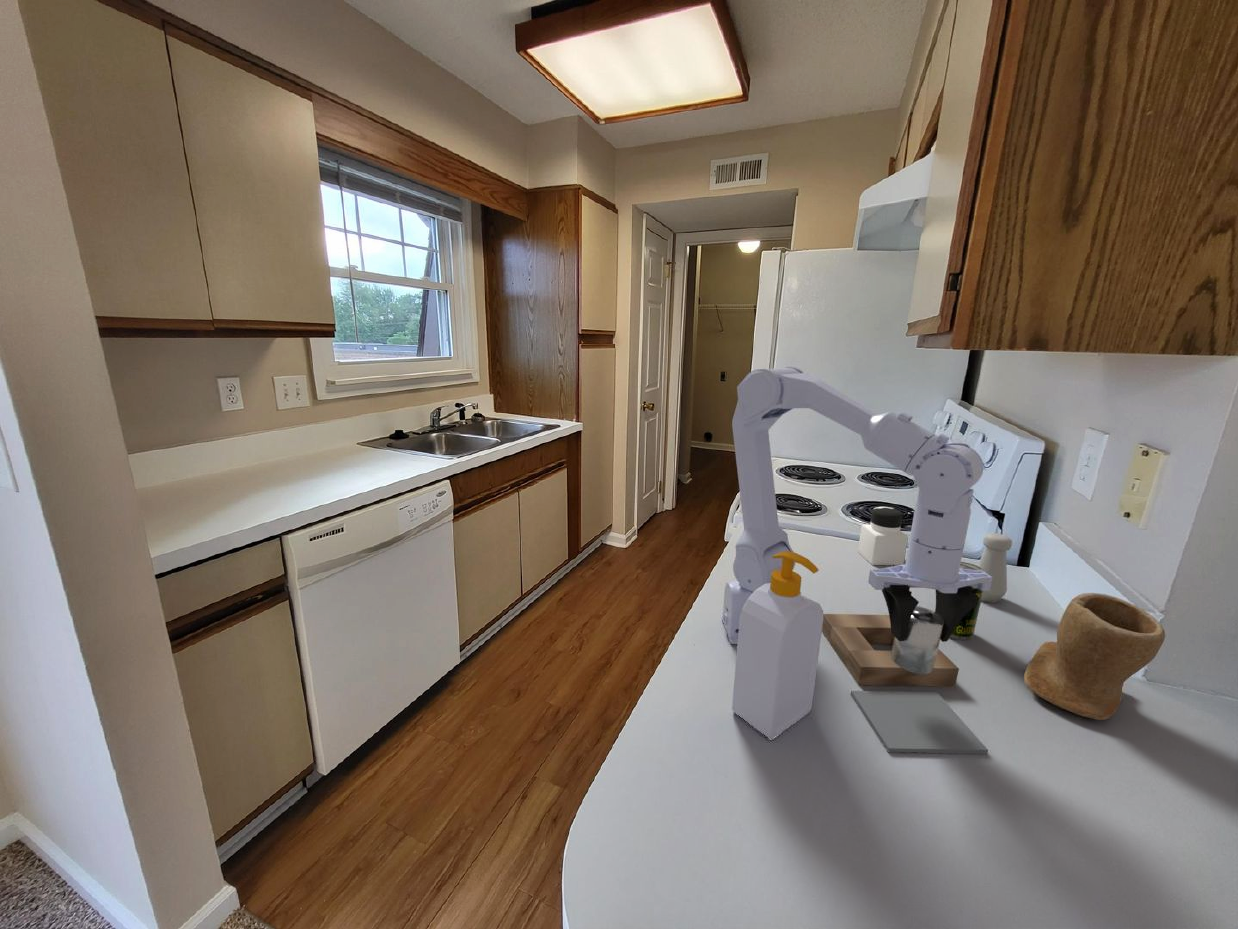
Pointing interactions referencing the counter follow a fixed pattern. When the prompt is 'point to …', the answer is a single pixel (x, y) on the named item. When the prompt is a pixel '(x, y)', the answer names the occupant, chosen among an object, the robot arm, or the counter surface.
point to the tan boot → (1094, 655)
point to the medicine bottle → (883, 538)
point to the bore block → (878, 653)
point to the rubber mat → (916, 723)
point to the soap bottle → (777, 651)
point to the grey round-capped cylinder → (919, 642)
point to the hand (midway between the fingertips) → (918, 637)
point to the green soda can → (969, 620)
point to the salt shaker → (995, 565)
